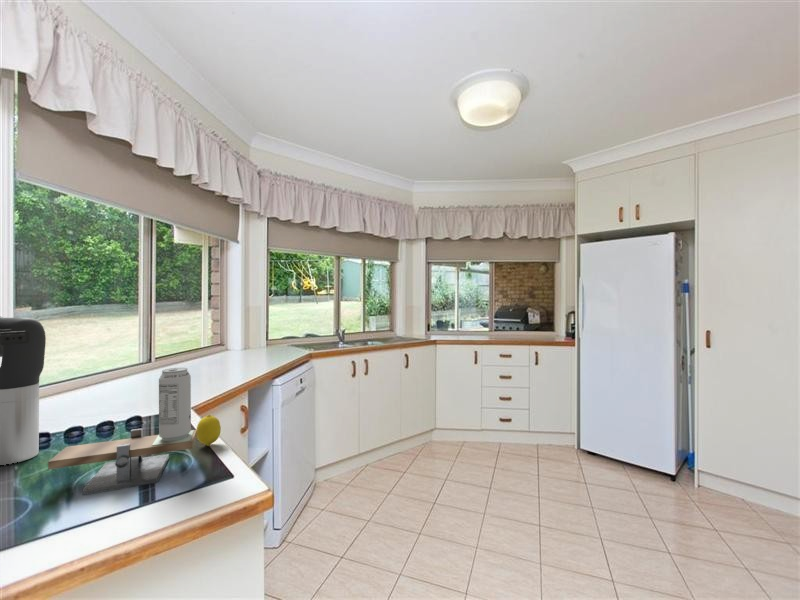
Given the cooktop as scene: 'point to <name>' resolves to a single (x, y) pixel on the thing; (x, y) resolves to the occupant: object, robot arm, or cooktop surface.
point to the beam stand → (127, 470)
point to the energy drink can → (174, 404)
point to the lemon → (208, 430)
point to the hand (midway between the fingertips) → (21, 335)
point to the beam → (109, 450)
